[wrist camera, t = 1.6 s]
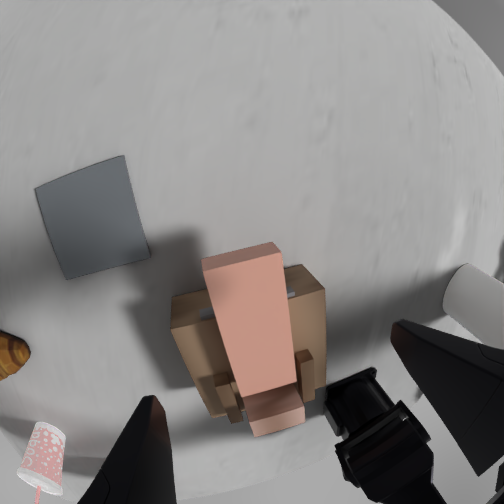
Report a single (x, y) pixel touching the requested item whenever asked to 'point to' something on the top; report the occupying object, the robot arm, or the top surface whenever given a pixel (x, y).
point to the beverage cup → (44, 460)
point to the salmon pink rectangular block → (253, 316)
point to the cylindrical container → (477, 304)
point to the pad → (93, 219)
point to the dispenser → (219, 369)
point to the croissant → (12, 354)
